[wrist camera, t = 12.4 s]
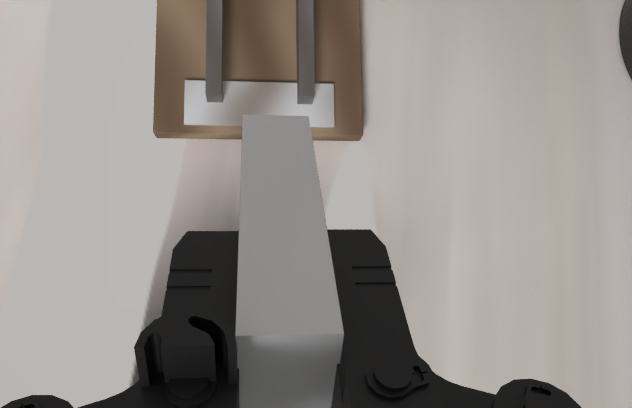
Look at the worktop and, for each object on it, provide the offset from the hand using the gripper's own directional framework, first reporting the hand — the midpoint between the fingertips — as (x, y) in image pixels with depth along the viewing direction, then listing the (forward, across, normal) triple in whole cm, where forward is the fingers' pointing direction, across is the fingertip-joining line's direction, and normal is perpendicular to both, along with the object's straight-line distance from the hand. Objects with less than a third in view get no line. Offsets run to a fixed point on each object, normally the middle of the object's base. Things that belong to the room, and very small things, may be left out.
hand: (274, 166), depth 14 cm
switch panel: (+33, 0, -4) cm, 33 cm away
